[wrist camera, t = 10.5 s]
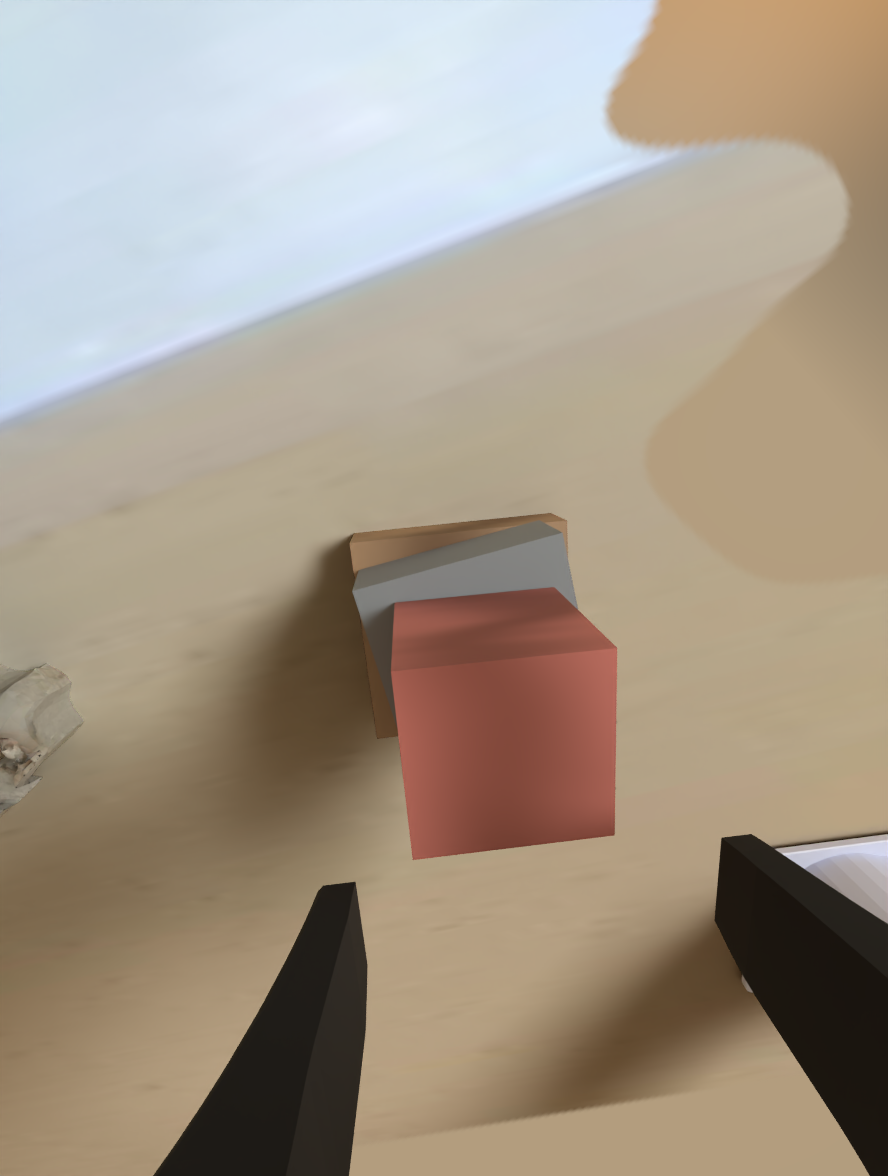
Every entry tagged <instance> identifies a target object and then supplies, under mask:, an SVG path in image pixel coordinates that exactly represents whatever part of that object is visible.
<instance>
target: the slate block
mask: <svg viewBox="0 0 888 1176" xmlns="http://www.w3.org/2000/svg"><path fill="white" fill-rule="evenodd" d="M550 587H555V588H556V589H557V590H558V591H559V592H560V593H561V594H562V595H563V596H564V597H565V598H566V599H567V600H568V601H569V602H570V603H571V604H572V605H573V606H574V607H575V608H576V609H578V607H577V602H576V597H575V592H574V587H573V582H572V577H571V572H570V567H569V562H568V557H567V552H566V547H565V542H564V537H563V533H562V532H560V531H559V530H557V529H555V528H553V527H551V526H549V525H548V524H546V523H544V522H542V521H540V520H537V521H534V522H530V523H526V524H523V525H519V526H516V527H512V528H508V529H505V530H501V531H498V532H494V533H490V534H487V535H483V536H480V537H476V538H472V539H469V540H465V541H462V542H458V543H454V544H451V545H447V546H443V547H440V548H436V549H433V550H429V551H425V552H422V553H418V554H415V555H411V556H407V557H404V558H400V559H397V560H393V561H389V562H386V563H382V564H379V565H375V566H371V567H368V568H364V569H361V570H359V571H358V574H357V577H356V580H355V584H354V587H353V590H352V592H353V595H354V598H355V601H356V604H357V607H358V610H359V613H360V616H361V620H362V623H363V626H364V629H365V632H366V635H367V638H368V641H369V644H370V647H371V650H372V653H373V656H374V659H375V662H376V665H377V668H378V671H379V674H380V677H381V681H382V684H383V687H384V690H385V693H386V696H387V699H388V702H389V705H390V708H391V711H392V714H393V717H394V720H395V723H396V726H397V719H396V711H395V702H394V694H393V685H392V676H391V661H392V642H393V623H394V604H395V603H396V602H406V601H416V600H427V599H437V598H447V597H457V596H468V595H478V594H488V593H499V592H509V591H519V590H529V589H540V588H550ZM397 729H398V728H397Z"/></svg>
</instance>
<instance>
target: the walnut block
mask: <svg viewBox="0 0 888 1176" xmlns="http://www.w3.org/2000/svg"><path fill="white" fill-rule="evenodd" d="M537 520H540V521H542V522H544V523H546V524H548V525H549V526H551V527H553V528H555V529H557V530H559V531H560V532H562V533H563V537H564V542H565V547H566V552H567V557H568V541H567V520H565V519H562V518H560V517H558V516H556V515H554V514H551V513H548V514H538V515H528V516H518V517H509V518H499V519H489V520H479V521H470V522H460V523H450V524H440V525H431V526H421V527H411V528H401V529H392V530H382V531H372V532H362V533H354V535H353V537H352V539H351V541H350V550H351V557H352V564H353V572H354V579H355V580H356V577H357V574H358V571H359V570H361V569H364V568H368V567H371V566H375V565H379V564H382V563H386V562H389V561H393V560H397V559H400V558H404V557H407V556H411V555H415V554H418V553H422V552H425V551H429V550H433V549H436V548H440V547H443V546H447V545H451V544H454V543H458V542H462V541H465V540H469V539H472V538H476V537H480V536H483V535H487V534H490V533H494V532H498V531H501V530H505V529H508V528H512V527H516V526H519V525H523V524H526V523H530V522H534V521H537ZM359 614H360V613H359ZM360 621H361V628H362V635H363V642H364V649H365V656H366V663H367V670H368V677H369V685H370V692H371V699H372V706H373V713H374V720H375V727H376V734H377V739H379V738H387V737H395V736H398V729H397V726H396V723H395V720H394V717H393V714H392V711H391V708H390V705H389V702H388V699H387V696H386V693H385V690H384V687H383V684H382V681H381V677H380V674H379V671H378V668H377V665H376V662H375V659H374V656H373V653H372V650H371V647H370V644H369V641H368V638H367V635H366V632H365V629H364V626H363V623H362V620H361V616H360Z"/></svg>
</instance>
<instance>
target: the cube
mask: <svg viewBox="0 0 888 1176" xmlns="http://www.w3.org/2000/svg"><path fill="white" fill-rule="evenodd" d="M391 676H392V685H393V694H394V702H395V711H396V719H397V728H398V737H399V745H400V754H401V762H402V771H403V779H404V788H405V797H406V805H407V814H408V822H409V831H410V840H411V848H412V857H413V860H416V859H425V858H433V857H441V856H449V855H457V854H466V853H474V852H482V851H490V850H498V849H506V848H515V847H523V846H531V845H539V844H547V843H555V842H564V841H572V840H580V839H588V838H596V837H605V836H613V835H614V834H615V763H616V692H617V647H616V646H615V645H614V644H612V643H611V642H610V641H609V640H608V639H607V638H606V637H605V636H604V635H603V634H602V633H601V632H600V631H599V630H598V629H597V628H596V627H595V626H594V625H593V624H592V623H591V622H590V621H589V620H588V619H587V618H586V617H585V616H584V615H583V614H582V613H581V612H580V611H579V610H578V609H576V608H575V607H574V606H573V605H572V604H571V603H570V602H569V601H568V600H567V599H566V598H565V597H564V596H563V595H562V594H561V593H560V592H559V591H558V590H557V589H556V588H555V587H550V588H540V589H529V590H519V591H509V592H499V593H488V594H478V595H468V596H457V597H447V598H437V599H427V600H416V601H406V602H396V603H395V604H394V623H393V642H392V661H391Z"/></svg>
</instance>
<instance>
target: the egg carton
mask: <svg viewBox="0 0 888 1176" xmlns="http://www.w3.org/2000/svg"><path fill="white" fill-rule="evenodd" d="M71 684H72V682H71V680H70V679H69V678H68V677H67V676H66V675H65V674H64V673H62V672H61V671H59V670H58V669H56V668H54V667H53V666H51V665H49V664H45V665H43V666H42V667H40V668H35V669H33V670H29V671H18V670H14V669H11V668H7V667H5V666H3V665H1V664H0V746H1V752H2V753H3V754H4V755H5V757H4V758H3V759H1V760H0V817H1V816H2V815H3V814H4V813H5V812H6V811H7V810H8V809H9V808H11V807H12V806H13V805H14V804H16V803H18V802H20V800H21V799H22V798H23V797H25V796H26V795H27V793H28V792H29V791H30V790H32V789H33V788H34V786H35V785H36V784H37V783H38V782H39V781H40V780H41V779H42V777H39V776H33V775H32V774H33V773H34V772H35V770H36V769H37V768H38V766H39V765H40V764H41V763H42V762H43V761H44V760H45V759H46V758H47V757H49V756H50V755H51V754H52V753H53V752H54V751H56V750H57V749H58V748H59V747H60V746H61V745H62V744H63V743H64V742H65V741H66V740H67V739H68V738H69V737H71V736H72V735H73V734H74V733H75V732H76V730H77V729H78V728H79V727H80V726H81V725H82V724H83V722H84V719H83V718H82V717H81V716H80V715H79V713H78V712H77V711H76V709H75V708H74V707H73V705H72V702H71V700H70V687H71Z"/></svg>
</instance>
